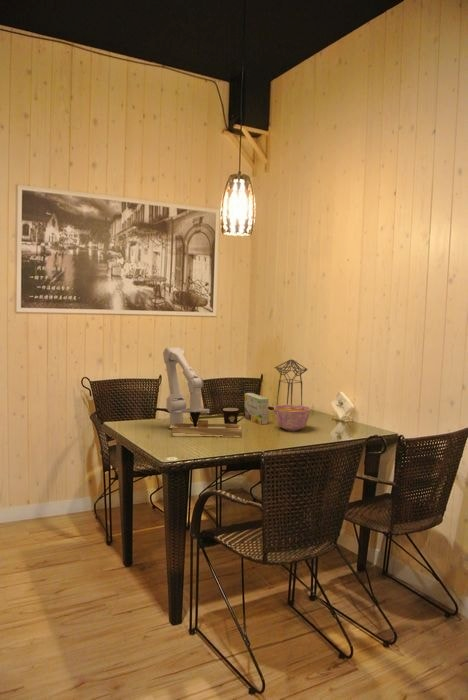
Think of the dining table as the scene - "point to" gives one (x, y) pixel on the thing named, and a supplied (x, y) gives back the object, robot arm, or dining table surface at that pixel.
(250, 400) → the snack box
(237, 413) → the coffee mug
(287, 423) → the bowl of food
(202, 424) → the walnut block
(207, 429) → the trap trough
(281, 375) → the geometric lantern
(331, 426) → the dining table surface
